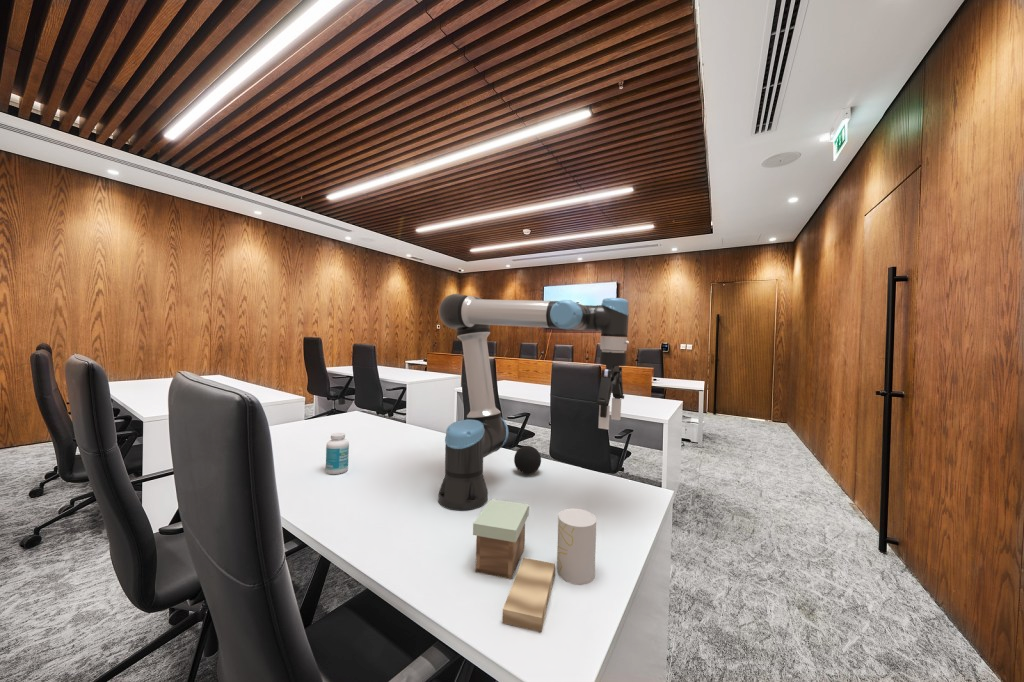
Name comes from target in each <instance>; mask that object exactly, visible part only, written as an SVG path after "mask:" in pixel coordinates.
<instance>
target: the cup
mask: <svg viewBox="0 0 1024 682" xmlns="http://www.w3.org/2000/svg"><path fill="white" fill-rule="evenodd" d="M557 515H558V516H557V520H558V521H557V523H558V524H557V546H556V547H557V548H556V549H557V550H556V551H557V552H556V573H557V575H558V576H559V578H561V579H562V580H563V581H565V582H567V583H569V584H573V585H580V586H581V585H587V584H589V583H591V582H592V581H593V580H594V579H595V576H596V574H595V573H596V546H597V545H596V542H597V517H596V516H595V515H594V514H593V513H592V512H590V511H588V510H586V509H580V508H567V509H566V508H565V509H563V510H561V511H559V513H558V514H557Z"/></svg>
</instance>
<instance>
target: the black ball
mask: <svg viewBox="0 0 1024 682" xmlns="http://www.w3.org/2000/svg"><path fill="white" fill-rule="evenodd" d="M513 462H514V466H515V467H516V469H517V470H518V472H520V473H522V474H523V475H524V474H525V475H532V474H533V473H536V472H537V471H538V470H539V468H540V467H541V464H542V457H541V454H540V452H539V451H538V449H537V448H535V447H534V446H531V445H525V446H521V447H519V448H518V449H517V451H516V452H515V454H514V458H513Z"/></svg>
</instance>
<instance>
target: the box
mask: <svg viewBox="0 0 1024 682" xmlns="http://www.w3.org/2000/svg"><path fill="white" fill-rule="evenodd" d="M525 536H526V523H525V524H524V526H523V528H522V530H521V532H520V535H519V537H518V539H517V541H516V542H510V541H504V540H499V539H493V538H487V537H481V536H476V542H475V543H476V545H475V550H476V551H475V573H480V574H485V575H487V576H488V575H490V576H494V577H498V578H503V579H504V578H505V579H508V580H509V579H510V580H512V579H513V576H514V574H515V572H516V569H517V567H518V565H519V563H520V559H521V557H522V555H523V552H524V551H525V546H526V545H525V541H526V539H525Z"/></svg>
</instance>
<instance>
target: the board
mask: <svg viewBox="0 0 1024 682" xmlns="http://www.w3.org/2000/svg"><path fill="white" fill-rule="evenodd" d="M555 576H556V563H555V562H549V561H543V560H537V559H531V558H527V557H523V558H522V560H521V562H520V565H519V567H518V570H517V572H516V575H515V577H514V581H513V582H512V585H511V587H510V590H509V593H508V595H507V598H506V601H505V603H504V605H503V608H502V616H501V617H502V622H501V623H502V624H504V625H509V626H514V627H517V628H521V629H522V628H523V629H525V630H530V631H533V632H538V633H542V631H543V626H544V622H545V620H546V619H545V618H546V614H547V609H548V606H549V601H550V597H551V593H552V588H553V584H554V581H555V580H554V579H555Z"/></svg>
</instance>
